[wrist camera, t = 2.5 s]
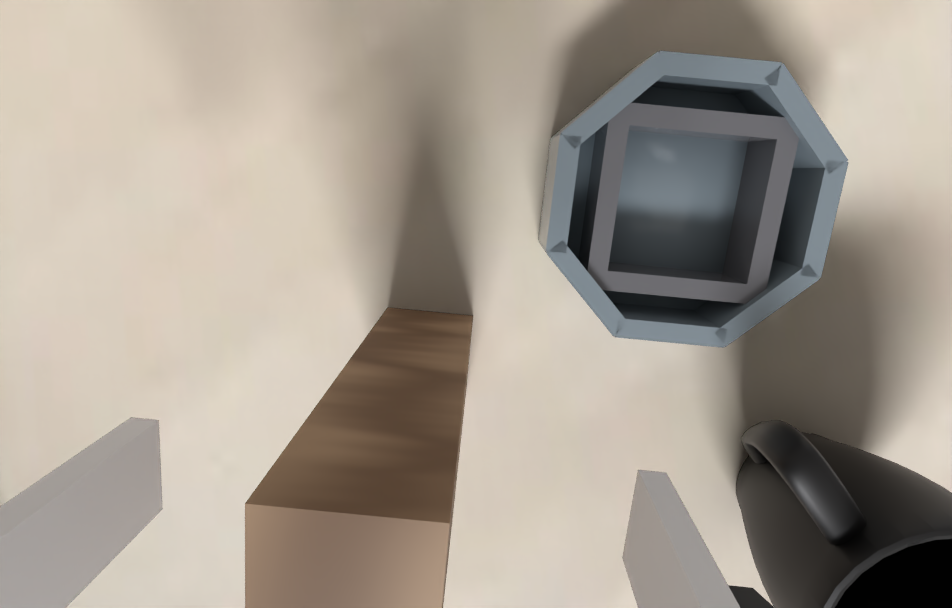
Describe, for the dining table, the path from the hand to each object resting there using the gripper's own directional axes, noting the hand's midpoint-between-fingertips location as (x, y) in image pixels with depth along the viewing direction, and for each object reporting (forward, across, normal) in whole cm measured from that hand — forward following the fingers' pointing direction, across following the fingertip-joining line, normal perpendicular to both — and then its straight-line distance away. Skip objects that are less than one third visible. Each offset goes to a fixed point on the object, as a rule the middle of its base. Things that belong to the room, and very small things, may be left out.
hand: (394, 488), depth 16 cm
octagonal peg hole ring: (+12, +10, +8) cm, 17 cm away
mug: (+12, +17, -4) cm, 21 cm away
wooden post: (+12, 0, 0) cm, 12 cm away
